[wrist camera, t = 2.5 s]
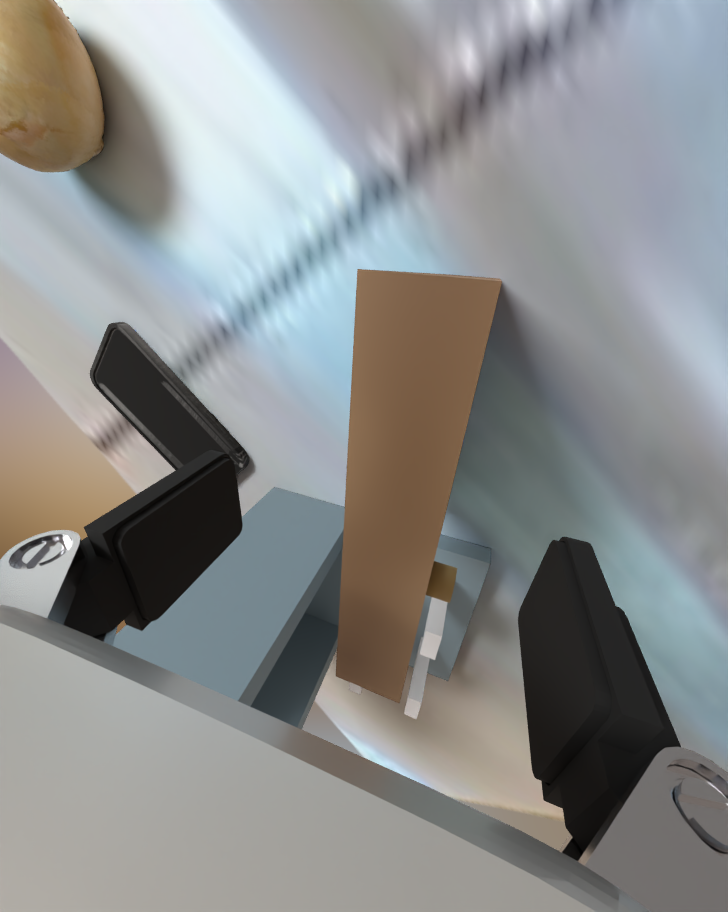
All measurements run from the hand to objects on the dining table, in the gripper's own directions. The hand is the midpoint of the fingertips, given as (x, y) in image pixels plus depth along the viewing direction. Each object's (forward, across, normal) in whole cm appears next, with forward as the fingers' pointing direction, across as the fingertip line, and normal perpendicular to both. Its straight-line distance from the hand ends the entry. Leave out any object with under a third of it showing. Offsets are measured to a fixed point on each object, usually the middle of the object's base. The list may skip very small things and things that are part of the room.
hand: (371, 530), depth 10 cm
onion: (+14, +24, -14) cm, 31 cm away
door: (+13, -1, 0) cm, 13 cm away
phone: (+14, +22, +6) cm, 27 cm away
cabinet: (+13, +3, +18) cm, 22 cm away
